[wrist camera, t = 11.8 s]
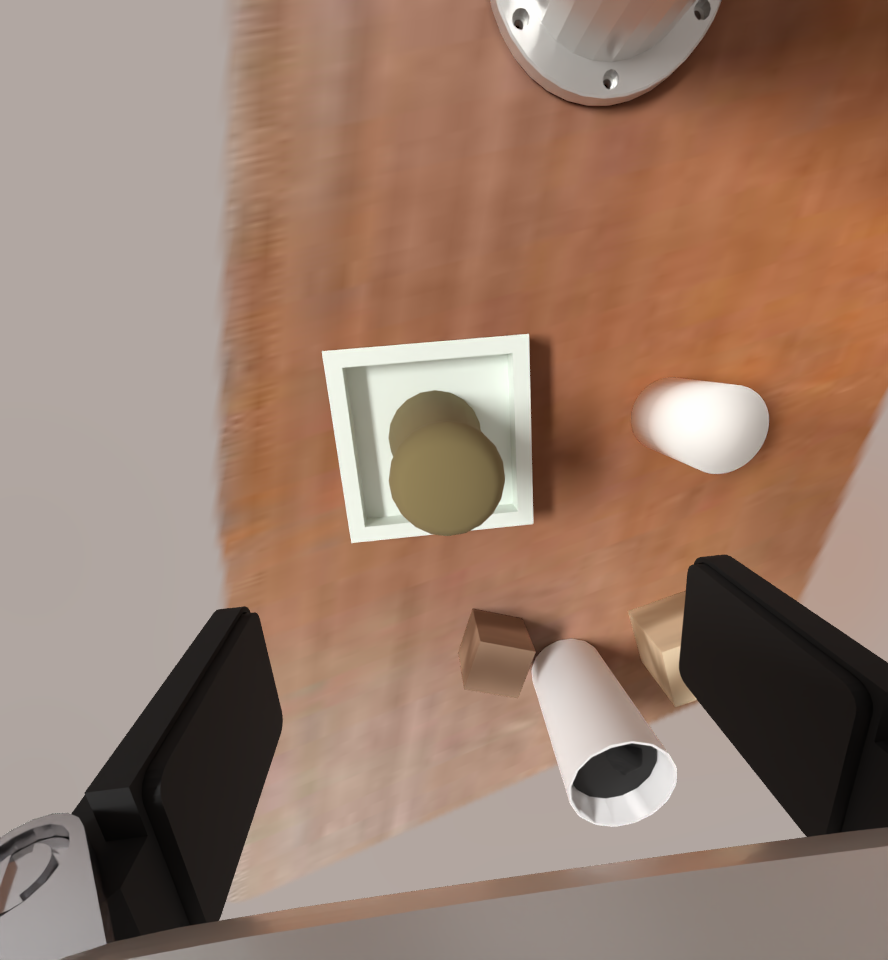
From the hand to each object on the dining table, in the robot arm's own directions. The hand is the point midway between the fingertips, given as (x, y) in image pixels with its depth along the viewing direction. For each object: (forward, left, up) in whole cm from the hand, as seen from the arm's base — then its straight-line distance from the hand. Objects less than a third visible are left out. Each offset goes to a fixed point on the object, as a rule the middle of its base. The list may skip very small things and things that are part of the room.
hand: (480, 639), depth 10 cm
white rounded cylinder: (0, +16, -21) cm, 27 cm away
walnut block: (+16, +3, -21) cm, 27 cm away
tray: (0, 0, -21) cm, 21 cm away
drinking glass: (+20, +9, -21) cm, 31 cm away
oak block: (+17, +17, -21) cm, 32 cm away
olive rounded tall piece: (0, 0, -21) cm, 21 cm away
